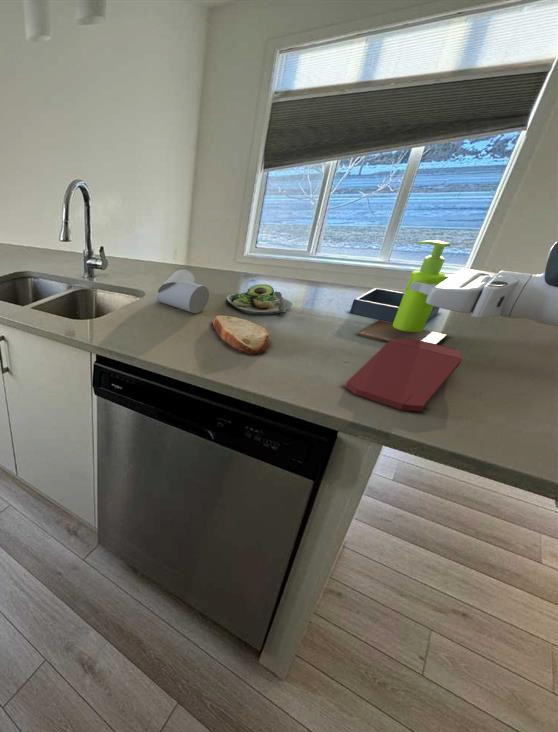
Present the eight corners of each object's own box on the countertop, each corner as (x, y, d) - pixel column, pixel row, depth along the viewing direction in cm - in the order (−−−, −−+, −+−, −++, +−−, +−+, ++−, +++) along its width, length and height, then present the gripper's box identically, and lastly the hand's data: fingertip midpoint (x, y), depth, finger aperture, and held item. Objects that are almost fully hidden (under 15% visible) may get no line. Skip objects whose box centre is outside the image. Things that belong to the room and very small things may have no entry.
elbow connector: (138, 298, 135) (183, 314, 120) (144, 266, 131) (192, 278, 116) (174, 297, 144) (221, 312, 129) (181, 267, 140) (230, 279, 124)
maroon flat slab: (410, 429, 74) (462, 367, 84) (419, 409, 72) (471, 347, 81) (338, 403, 83) (392, 349, 93) (343, 384, 80) (399, 331, 90)
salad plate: (310, 314, 115) (314, 299, 112) (249, 321, 114) (252, 305, 112) (272, 294, 132) (275, 280, 129) (219, 300, 131) (221, 286, 129)
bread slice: (218, 319, 117) (220, 307, 116) (285, 333, 106) (288, 319, 104) (188, 340, 107) (189, 327, 105) (258, 358, 95) (261, 344, 94)
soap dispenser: (399, 320, 101) (430, 237, 92) (429, 329, 96) (466, 242, 86) (382, 324, 100) (411, 241, 90) (411, 333, 94) (447, 245, 84)
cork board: (446, 337, 97) (447, 334, 97) (427, 352, 91) (428, 350, 91) (378, 322, 107) (379, 319, 107) (358, 335, 102) (358, 332, 101)
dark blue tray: (437, 313, 109) (443, 299, 107) (418, 327, 102) (424, 312, 100) (370, 300, 120) (375, 287, 118) (349, 312, 114) (353, 299, 112)
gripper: (522, 267, 86) (439, 258, 96) (493, 290, 77) (405, 277, 87) (507, 296, 89) (429, 284, 99) (478, 321, 80) (395, 305, 90)
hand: (417, 281), depth 93 cm, fingers closed on soap dispenser, 6 cm apart
